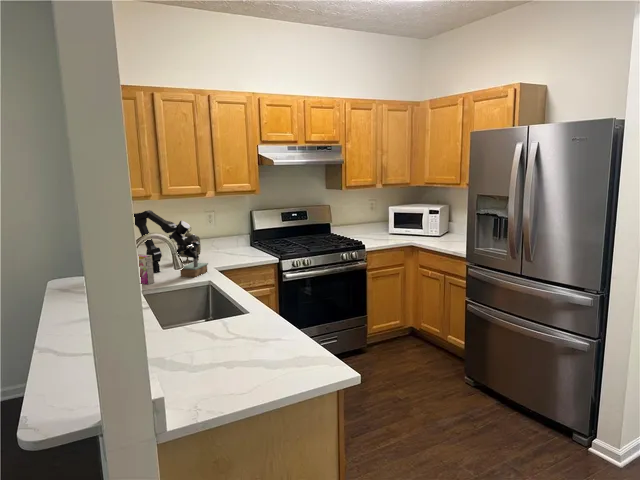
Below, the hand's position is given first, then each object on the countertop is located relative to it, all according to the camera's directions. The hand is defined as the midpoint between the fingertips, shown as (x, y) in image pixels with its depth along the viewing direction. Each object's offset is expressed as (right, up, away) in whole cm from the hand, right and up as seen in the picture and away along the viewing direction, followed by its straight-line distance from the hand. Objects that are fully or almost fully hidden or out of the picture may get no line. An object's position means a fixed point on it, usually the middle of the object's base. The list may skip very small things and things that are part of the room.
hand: (197, 258), depth 262 cm
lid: (-3, -6, +6) cm, 9 cm away
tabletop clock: (-18, -4, +45) cm, 48 cm away
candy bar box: (-27, -14, -13) cm, 33 cm away
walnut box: (-3, -10, +5) cm, 12 cm away
